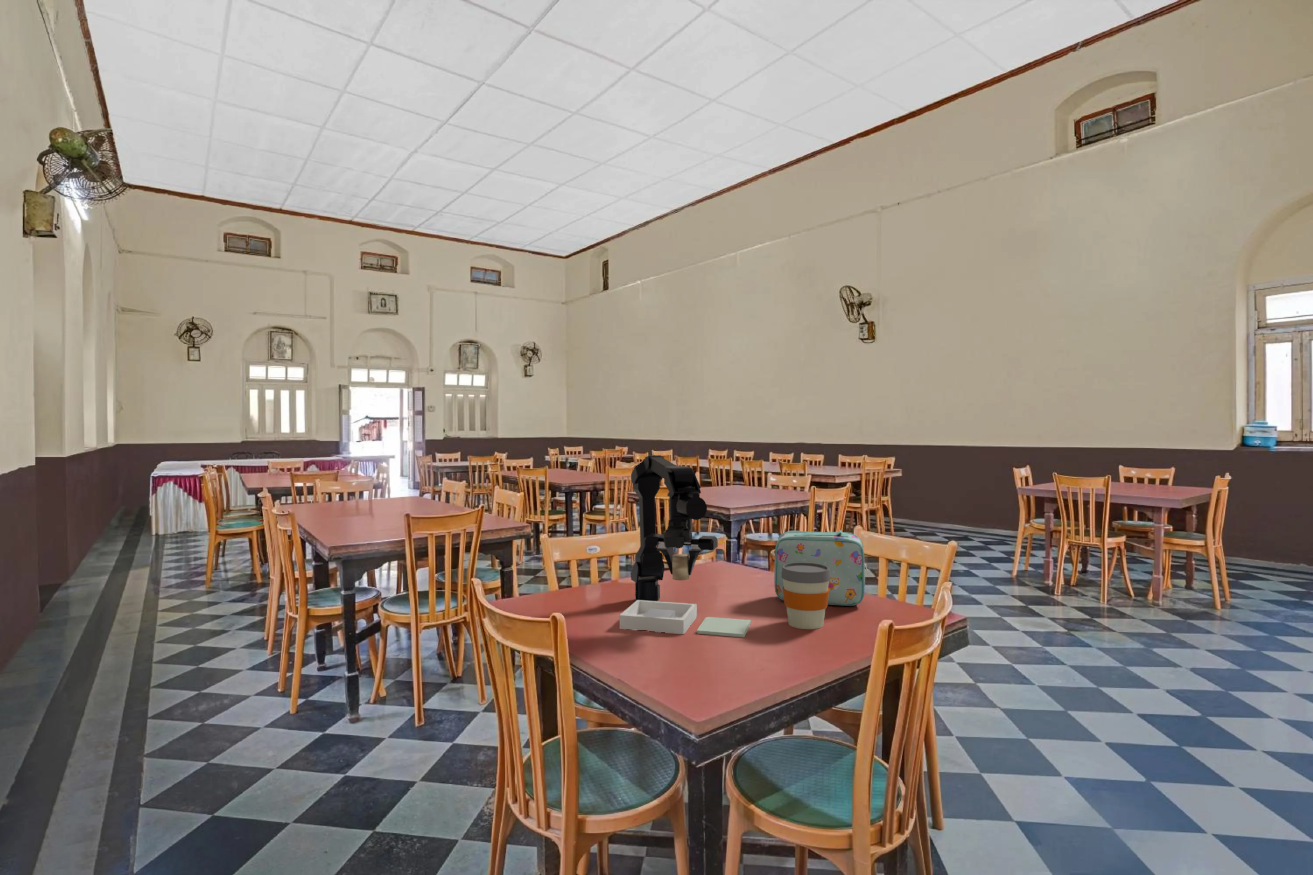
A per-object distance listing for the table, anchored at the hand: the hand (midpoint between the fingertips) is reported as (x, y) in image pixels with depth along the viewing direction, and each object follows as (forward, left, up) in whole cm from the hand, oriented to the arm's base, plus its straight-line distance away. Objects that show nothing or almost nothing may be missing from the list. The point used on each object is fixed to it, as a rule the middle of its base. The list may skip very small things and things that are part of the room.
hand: (681, 574), depth 174 cm
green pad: (+11, 0, -13) cm, 18 cm away
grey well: (-6, 0, -13) cm, 15 cm away
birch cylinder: (0, 0, -1) cm, 1 cm away
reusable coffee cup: (+31, +9, -14) cm, 35 cm away
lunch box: (+34, +32, -14) cm, 49 cm away
